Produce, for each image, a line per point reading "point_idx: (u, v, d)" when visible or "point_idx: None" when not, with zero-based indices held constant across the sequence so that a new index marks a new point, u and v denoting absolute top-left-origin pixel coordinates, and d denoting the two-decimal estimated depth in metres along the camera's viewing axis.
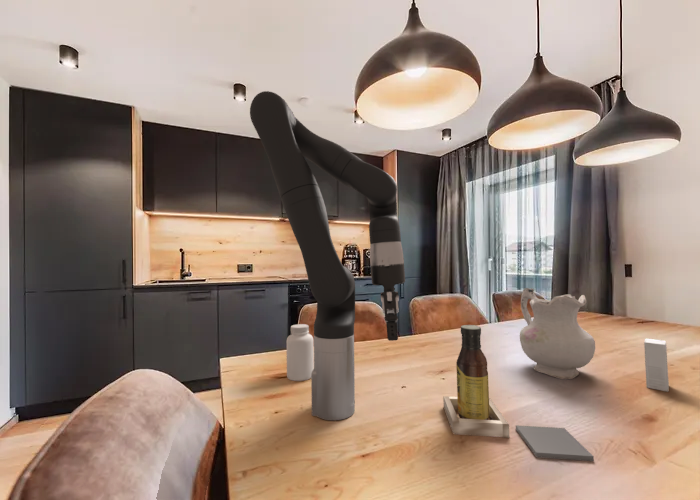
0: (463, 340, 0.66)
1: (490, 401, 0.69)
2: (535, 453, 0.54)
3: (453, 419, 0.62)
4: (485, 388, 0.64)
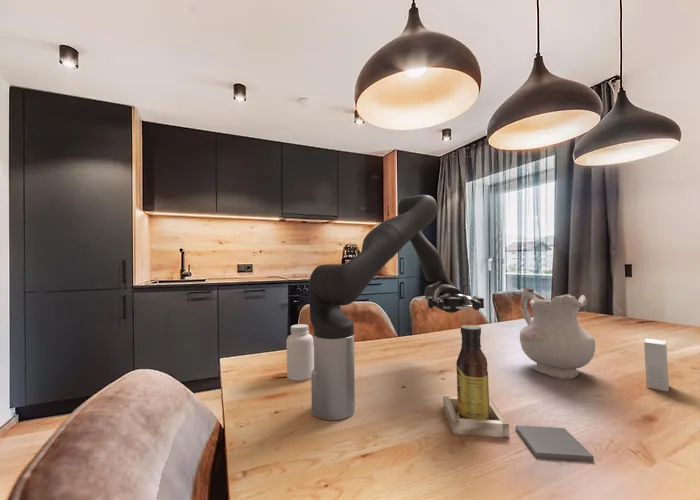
0: (463, 340, 0.66)
1: (490, 401, 0.69)
2: (535, 453, 0.54)
3: (453, 419, 0.62)
4: (485, 388, 0.64)
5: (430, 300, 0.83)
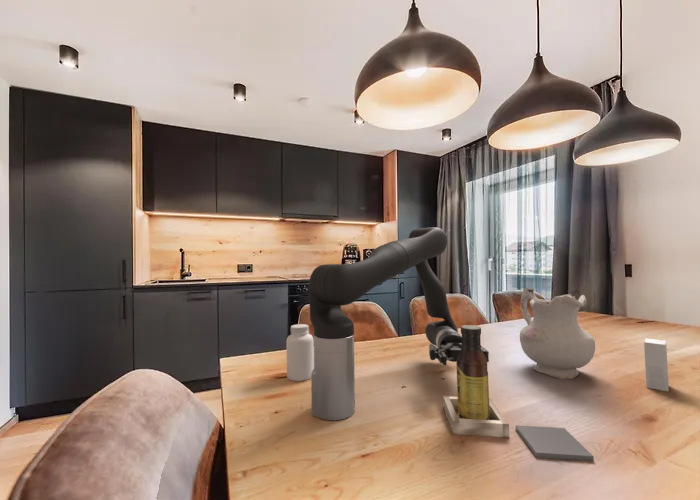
0: (463, 340, 0.66)
1: (490, 401, 0.69)
2: (535, 453, 0.54)
3: (453, 419, 0.62)
4: (485, 388, 0.64)
5: (432, 352, 0.79)
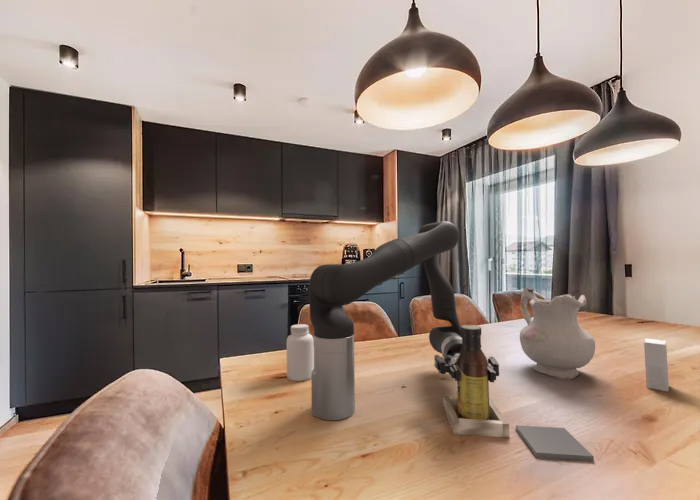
0: (463, 340, 0.66)
1: (490, 401, 0.69)
2: (535, 453, 0.54)
3: (453, 419, 0.62)
4: (485, 388, 0.64)
5: (443, 365, 0.69)
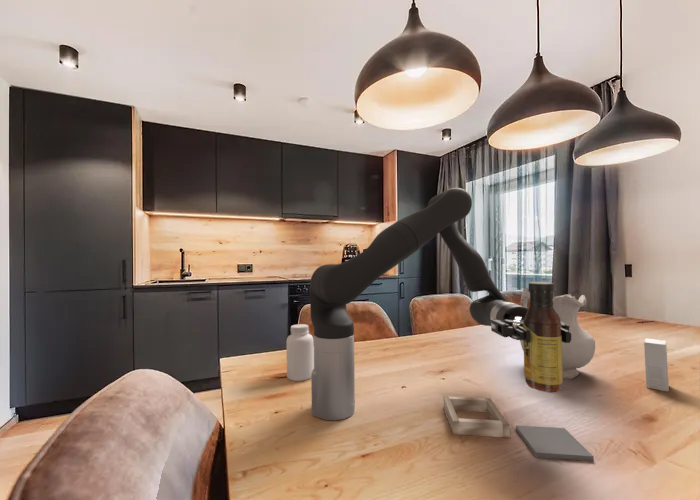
0: (533, 297, 0.59)
1: (490, 401, 0.69)
2: (535, 453, 0.54)
3: (453, 419, 0.62)
4: (560, 349, 0.57)
5: (506, 327, 0.62)
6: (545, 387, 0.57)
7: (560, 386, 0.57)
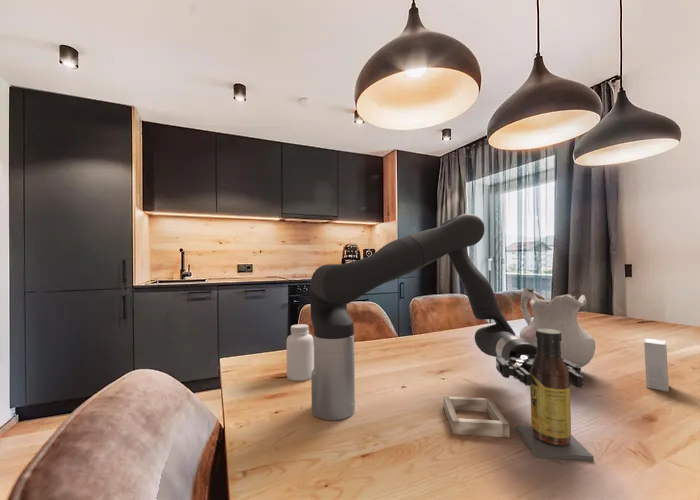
0: (540, 346, 0.58)
1: (490, 401, 0.69)
2: (535, 453, 0.54)
3: (453, 419, 0.62)
4: (568, 401, 0.55)
5: (506, 367, 0.61)
6: (553, 440, 0.55)
7: (568, 439, 0.56)
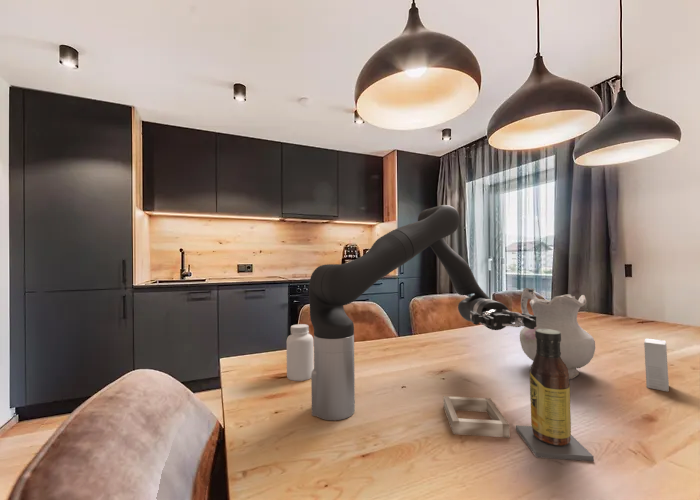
0: (540, 346, 0.58)
1: (490, 401, 0.69)
2: (535, 453, 0.54)
3: (453, 419, 0.62)
4: (568, 402, 0.55)
5: (476, 316, 0.76)
6: (553, 440, 0.55)
7: (568, 439, 0.56)
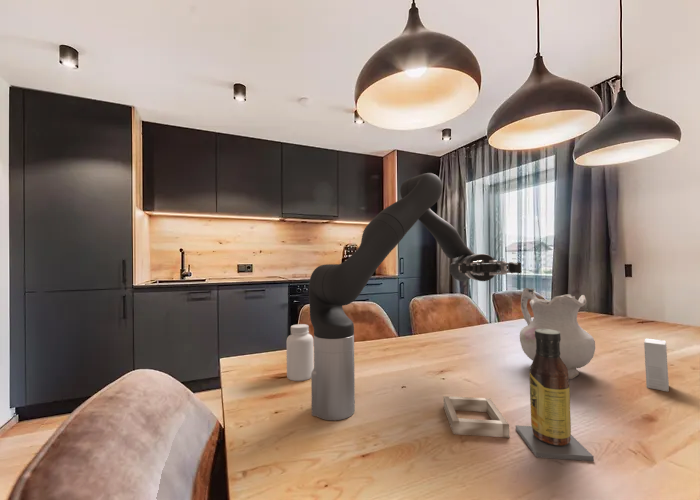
0: (539, 346, 0.58)
1: (490, 401, 0.69)
2: (535, 453, 0.54)
3: (453, 419, 0.62)
4: (568, 402, 0.55)
5: (464, 265, 0.79)
6: (553, 440, 0.55)
7: (568, 439, 0.56)
